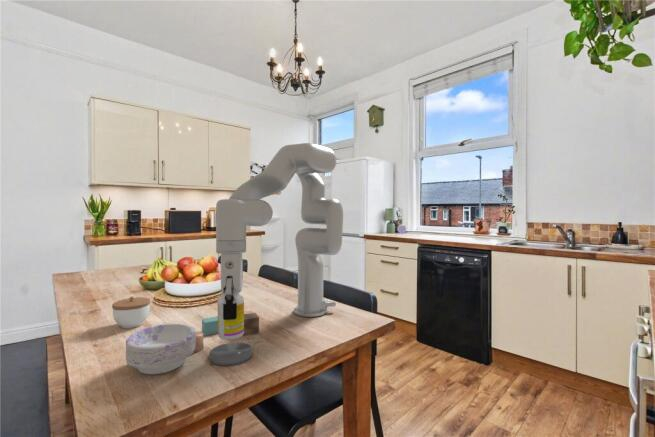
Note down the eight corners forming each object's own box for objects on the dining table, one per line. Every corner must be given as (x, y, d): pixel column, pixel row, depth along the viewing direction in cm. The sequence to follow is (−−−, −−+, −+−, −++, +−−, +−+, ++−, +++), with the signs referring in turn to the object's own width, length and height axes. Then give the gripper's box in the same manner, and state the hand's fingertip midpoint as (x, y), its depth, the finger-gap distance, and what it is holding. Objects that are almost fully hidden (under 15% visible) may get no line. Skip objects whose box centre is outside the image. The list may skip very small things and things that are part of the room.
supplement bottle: (249, 334, 85) (249, 286, 84) (229, 342, 79) (229, 291, 79) (232, 328, 88) (232, 282, 88) (212, 336, 83) (212, 287, 82)
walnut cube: (254, 327, 104) (254, 312, 104) (259, 333, 99) (259, 317, 99) (239, 330, 102) (239, 314, 101) (242, 336, 97) (242, 319, 97)
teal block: (221, 327, 104) (221, 315, 104) (225, 331, 101) (224, 319, 101) (202, 331, 101) (201, 319, 101) (205, 335, 97) (205, 322, 97)
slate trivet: (253, 345, 91) (253, 340, 91) (252, 363, 80) (252, 359, 80) (212, 348, 88) (212, 344, 88) (206, 368, 78) (206, 363, 78)
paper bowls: (182, 380, 72) (182, 346, 72) (112, 383, 71) (111, 348, 70) (203, 350, 87) (203, 321, 87) (145, 352, 86) (145, 323, 86)
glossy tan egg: (202, 344, 91) (202, 330, 90) (204, 350, 87) (204, 336, 87) (187, 347, 89) (187, 333, 88) (188, 353, 85) (188, 339, 85)
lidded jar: (145, 317, 113) (145, 290, 113) (154, 325, 105) (154, 297, 105) (109, 324, 105) (108, 296, 105) (116, 334, 98) (116, 303, 97)
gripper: (244, 250, 75) (244, 325, 76) (247, 242, 92) (247, 304, 93) (211, 251, 74) (211, 327, 74) (220, 243, 91) (220, 305, 91)
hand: (231, 313), depth 84 cm, fingers closed on supplement bottle, 6 cm apart
